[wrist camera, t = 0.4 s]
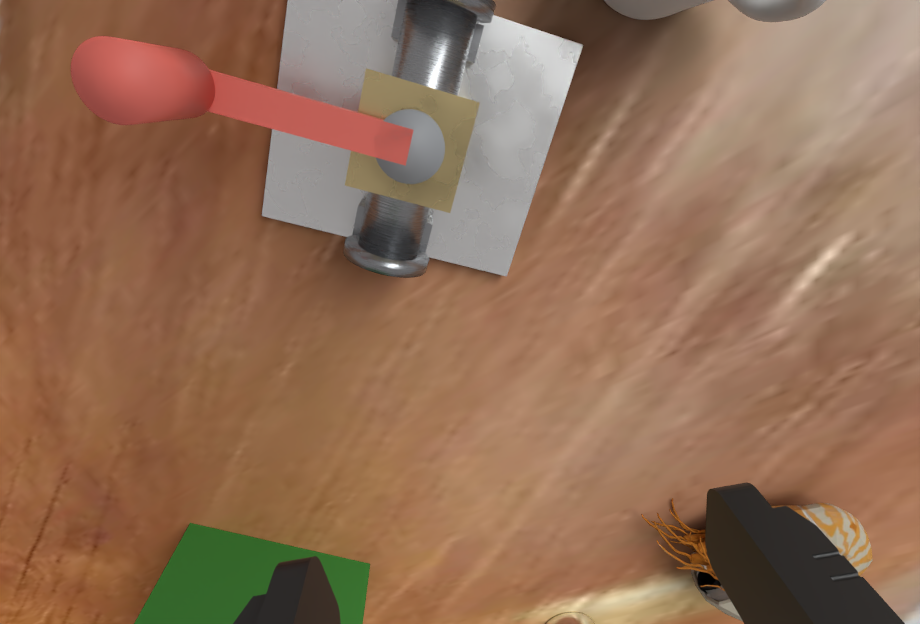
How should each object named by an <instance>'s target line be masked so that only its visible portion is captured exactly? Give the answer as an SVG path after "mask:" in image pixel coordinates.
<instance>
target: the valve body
mask: <svg viewBox="0 0 920 624" xmlns="http://www.w3.org/2000/svg"><path fill="white" fill-rule="evenodd" d="M495 6H496V4H495V2H494V1H493V0H288V2H287V11H286V19H285V27H284V35H283V44H282V52H281V60H280V69H279V77H278V85H277V89H279V90H282V91H286V92H289V93H293V94H296V95H300V96H303V97H307V98H310V99H314V100H317V101H321V102H324V103H328V104H331V105H335V106H338V107H342V108H345V109H348V110H352V111H355V112H359V113H362V114H366V115H369V116H373V117H376V118H380V119H383V120H384V119H385V118H387V117H388V116H389V115H391V114H393V113H394V112H396V111H399V110H403V109H415V110H419V111H422V112H424V113H426V114H428V115H429V116H430V117H432V118H433V119H434V120H435V122H436V123H437V124H438V126H439V127H440V129H441V131H442V134H443V137H444V142H445V154H444V159H443V162H442V164H441V166H440V168H439V169H438V171H437V172H436V173H435V174H434V175H433V176H432V177H431V178H429V179H428V180H426V181H424V182H421V183H417V184H405V183H401V182H398V181H395V180H393V179H392V178H390V177H389V176H388V175H387V174H385V172H384V171H383V170H382V169H381V167H380V166H379V164H378V162H377V160H376V157H372V156H369V155H365V154H361V153H358V152H354V151H350V150H347V149H343V148H340V147H336V146H332V145H329V144H325V143H321V142H318V141H314V140H310V139H307V138H303V137H300V136H296V135H292V134H289V133H285V132H281V131H278V130H274V129H272V135H271V143H270V152H269V160H268V168H267V176H266V185H265V193H264V201H263V210H262V216H264V217H268V218H272V219H276V220H280V221H284V222H288V223H292V224H296V225H300V226H304V227H309V228H313V229H317V230H321V231H325V232H329V233H333V234H337V235H341V236H345V237H347V238H346V240H345V245H344V250H343V254H344V256H345V257H346V258H347V259H348V260H349V261H350V262H352V263H353V264H355V265H357V266H359V267H361V268H364V269H366V270H369V271H372V272H375V273H379V274H383V275H387V276H393V277H404V278H410V277H418V276H421V275H423V274H424V273H425V272H426V269H427V265H428V261H429V257H430V258H434V259H438V260H442V261H446V262H450V263H454V264H458V265H462V266H466V267H470V268H474V269H478V270H482V271H486V272H490V273H495V274H499V275H503V276H507V274H508V271H509V268H510V265H511V262H512V259H513V256H514V253H515V249H516V246H517V243H518V240H519V237H520V234H521V231H522V228H523V225H524V222H525V219H526V216H527V213H528V210H529V207H530V204H531V201H532V198H533V195H534V192H535V189H536V186H537V183H538V180H539V177H540V174H541V171H542V168H543V165H544V162H545V159H546V156H547V153H548V150H549V147H550V144H551V141H552V138H553V135H554V132H555V129H556V126H557V123H558V120H559V117H560V114H561V111H562V108H563V104H564V101H565V98H566V95H567V92H568V89H569V86H570V83H571V80H572V77H573V74H574V71H575V68H576V65H577V62H578V59H579V56H580V53H581V50H582V47H583V45H582V44H579V43H576V42H573V41H570V40H567V39H564V38H561V37H558V36H555V35H552V34H549V33H546V32H543V31H540V30H537V29H534V28H531V27H528V26H525V25H522V24H519V23H516V22H513V21H510V20H507V19H504V18H501V17H498V16H495V15H493V14H494V10H495Z"/></svg>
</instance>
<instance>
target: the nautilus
mask: <svg viewBox="0 0 920 624" xmlns="http://www.w3.org/2000/svg"><path fill="white" fill-rule="evenodd" d="M671 501H672V508H673V511H674V513H675V515H676V516H675V515H674V514H673V513H672V512H671V510H670V509H669V510H670V513H671V514H672V515H673V517H674V518H675V519H676V520H677V521H678V522H679V524H680V526H681V527H682V528H683V529H684V530H688V531H690V533H689V534H688V533H686V532H685V531H683V530H682V529H680V528H678V527H676V526H673V525H666V524H665V523H664V522H663V520H662V519H661V518H660V517H659V514H658V513H657V515H658V518H659V519H660V521H661V522H662V524H659V523H656V522H655V521H654V522H653V521H651V522H653V523H654V525H655V526H654V525H652V524H651V523H650V522H649V521H648V520H647V519H645V518H644V517H643V515H642V514H641V515H642V517H643V519H644V520H645V521H646V522H647V523H648V524H649V525H650V526H652V527H654V528H655V529H657V530H658V532H659V534H660V535H661V536H662V538H663V539H664V540H665V542H666V543H667V544H668V545H669V546H670V547H671V548H672V550H673V551H674V552H676V553H678V554H681V555H684V556H686V557H688V558H689V560H690V562H691V564H689V563H685V562H684V561H682V560H681V559H679V558H677V557H676V556H674V555H673V554H671V553H669V552H668V551H667V550H666V549H665V548H663V547H662V546H661V545H660V544H659V542H658V540H656V541H657V543H658V545H659V546H660V547H661V548H662V549H663V550H664V551H665V552H666V553H667V554H669V555H670V556H672V557H673V558H675V559H676V560H678V561H679V562H681V563H682V564H684V565H686V566H684V567H677V568H678V569H691V572H692V576H693V579H694V582H695V585H696V587H697V588H698V590H699V591H700V592H701V594H702V595H703V597H704V598H705V600H706V601H707V602H709V603H710V604H712V605H713V606H715V607H716V608H718V609H719V610H721V611H722V612H724V613H725V614H727V615H730V616H732V617H734V618H736V619H739V620H741V621H743V620H742V619H741V617H740V615H739V614H738V612H737V610H736V609H735V607H734V605H733V604H732V602H731V600H730V599H729V597H728V595H727V594H726V592H725V590H724V588H723V587H722V585H721V583H720V582H719V580H718V578H717V577H716V575H715V573H714V571H713V569H712V566H711V564H710V561H709V558H708V555H707V551H706V545H705V534H706V529H704V530H696V529H691V528H689V527H687V526H686V525H685V524H684V523H682V522H681V521H680V519H679V517H678V515H677V513H676V511H675V508H674V505H673V498H672V500H671ZM785 506H787V507H789V508H791V509H792V510H794V511H795V512H797V513H798V514H800V515H801V516H803V517H804V518H806V519H807V520H809V521H811V522H812V523H814V524H815V525H816V526H817V527H818V528H819V529H820V530H821V531H822V532H823V533H824V534H825V536H826V537H827V538H828V539H829V540H830V541H831V542H832V543H833V544H834V546H835V547H836V548H837V549H838V550H839V553H840V555H841V556H842V555H843V556H844V557H845V558H846V559H847V560H848V561H849V562H850V563H851V564H852V566H853V567H854V568H855V569H856V570H857V571H858V574H859V576H861V574H862V573H863V572H864V571H865V570H866V569H867V567H868V566H869V564H870V563H871V562H872V550H871V545H870V542H869V538H868V535H867V533H866V531H865V530H864V528H863V527H862V525H861V524H860V522H859V520H857V519H856V518H855V517H854V516H852V515H851V514H850V513H848V512H846V511H844V510H842V509H840V508H838V507H836V506H834V505H831V504H827V503H815V504H810V505H805V506H799V505H785ZM771 507H772V508H776V507H782V506H771ZM676 517H677V518H676ZM656 524H657V525H660V526H664V527H666V528H667V529H668V531H669V532H670V533H671V534H672V535H673V536H674V537H673V536H670V535H668V534H666V533H665V532H663V531H662V530H660V529H659V528H658V527H657V526H656ZM684 526H685V527H686V528H685V527H684ZM670 527H672V528H670ZM669 528H670V529H669ZM673 528H675V529H673ZM671 529H673V530H678V531H681V532H683V533H684V534H685V536H683V537H681V536H677V535H676V534H675V533H674V532H673V531H672V530H671ZM691 532H693V533H695V534H691ZM662 534H664V535H665V536H667V537H668V538H672V539H677V540H678V541H679V542H674V541H670V540H669V541H670V542H674V543H681V544H683V545H686V546H688V547H690V546H689V545H691V546H693V547H694V548H695V549H696V550H694V549H693V548H691V547H690V548H691V549H692V550H693V551H694V552H693V553H691V554H690V555H689V554H687V553H685V552H680V551H678V550H676V549H675V548H674V547H673V546H672V545H671V544H670V543H669V542H668V540H667V539H666V538H665V537H664V536H663V535H662ZM681 539H682V540H681Z"/></svg>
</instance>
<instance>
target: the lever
mask: <svg viewBox="0 0 920 624" xmlns="http://www.w3.org/2000/svg"><path fill="white" fill-rule="evenodd" d="M71 76H72V81H73V84H74V87H75V89H76V92H77V94H78V95H79V97H80V99H81V100H82V101H83V103H84V104H85V105H86V106H87V107H88V108H89V109H90V110H91V111H92V112H93V113H95V114H96V115H97V116H99V117H100V118H102V119H104V120H106V121H108V122H111V123H114V124H119V125H133V124H142V123H151V122H160V121H169V120H178V119H187V118H195V117H198V116H201V115H203V114H204V113H205V112H207V111H209V112H212V113H216V114H219V115H223V116H227V117H230V118H234V119H238V120H241V121H245V122H249V123H252V124H256V125H259V126H263V127H267V128H270V129H274V130H278V131H281V132H285V133H289V134H292V135H296V136H300V137H303V138H307V139H310V140H314V141H318V142H321V143H325V144H329V145H332V146H336V147H340V148H343V149H347V150H350V151H354V152H358V153H361V154H365V155H369V156H372V157H376V160H377V162H378V164H379V166H380V167H381V169H382V170H383V171H384V172H385V174H387V175H388V176H389V177H390V178H392V179H393V180H395V181H398V182H401V183H405V184H417V183H421V182H424V181H426V180H428V179H429V178H431V177H432V176H433V175H434V174H435V173H436V172H437V171H438V169H439V168H440V166H441V164H442V162H443V159H444V154H445V142H444V137H443V134H442V131H441V129H440V127H439V126H438V124H437V123H436V122H435V120H434V119H433V118H432V117H430V116H429V115H428V114H426V113H424V112H422V111H419V110H415V109H403V110H399V111H396V112H394V113H393V114H391V115H389V116H388V117H387V118H385V119H384V120H383V119H380V118H376V117H373V116H369V115H366V114H362V113H359V112H355V111H352V110H348V109H345V108H342V107H338V106H335V105H331V104H328V103H324V102H321V101H317V100H314V99H310V98H307V97H303V96H300V95H296V94H293V93H289V92H286V91H282V90H279V89H275V88H272V87H269V86H265V85H262V84H258V83H255V82H251V81H248V80H244V79H241V78H237V77H234V76H230V75H227V74H223V73H220V72H216V71H213V70H209V69H208V67H207V66H206V65H205V63H204V62H203V61H202V60H201V59H200V58H198V57H197V56H196V55H194V54H193V53H191V52H189V51H186V50H183V49H179V48H173V47H167V46H161V45H155V44H149V43H143V42H138V41H132V40H126V39H120V38H114V37H108V36H97V37H93V38H90V39H88V40H86V41H84V42H83V43H82V44H81V45H79V47H78V48H77V49H76V51H75V53H74V55H73V58H72V62H71Z"/></svg>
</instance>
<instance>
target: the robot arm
mask: <svg viewBox="0 0 920 624" xmlns="http://www.w3.org/2000/svg"><path fill="white" fill-rule="evenodd" d="M705 545H706V551H707V555H708V558H709V561H710V564H711V566H712V569H713V571H714V573H715V575H716V577H717V578H718V580H719V582H720V583H721V585H722V587H723V588H724V590H725V592H726V594H727V595H728V597H729V599H730V600H731V602H732V604H733V605H734V607H735V609H736V610H737V612H738V614H739V615H740V617H741V619H742V620H743V622H744V624H905V623H904V622H903V621H902V620H901V619H900V618H899V617H898V616H897V614H896V613H895V612H894V611H893V610H892V609H891V608H890V607H889V606H888V604H887V603H886V602H885V601H884V600H883V599H882V598H881V597H880V596H879V594H878V593H877V592H876V591H875V590H874V589H873V588H872V587H871V586H870V584H869V583H868V582H867V581H866V580H865V579H864V578H863V577H860V576H859V574H858V571H857V570H856V569H855V568H854V567H853V566H852V564H851V563H850V562H849V561H848V560H847V559H846V558H845V557H844V556H843V555H842V556H841V555H840V553H839V550H838V549H837V548H836V547H835V546H834V544H833V543H832V542H831V541H830V540H829V539H828V538H827V537H826V536H825V534H824V533H823V532H822V531H821V530H820V529H819V528H818V527H817V526H816V525H815V524H814V523H812V522H811V521H809V520H807V519H806V518H804V517H803V516H801V515H800V514H798V513H797V512H795V511H794V510H792V509H791V508H789V507H787V506H782V507H776V508H772V507H771V505H770V504H769V503H768V502H767V501H766V499H765V498H764V497H763V496H762V495H761V493H760V492H759V491H758V490H757V489H756V488H755V487H754V486H753V485H752V484H750V483H742V484H736V485H730V486H724V487H719V488H713V489H710V490H709V491H708V493H707V508H706V534H705ZM233 624H341V621H340V611H339V606H338V603H337V600H336V598H335V595H334V593H333V591H332V588H331V586H330V583H329V581H328V578H327V576H326V573H325V571H324V568H323V566H322V564H321V561H320V559H319V558H318V557H317V556H313V557H308V558H302V559H296V560H290V561H285V562H280V563H278V564H277V566H276V567H275V569H274V572H273V575H272V578H271V581H270V584H269V587H268V590H267V593H266V594H263V595H257V596H253V597H252V598H251V599H250V601H249V602H248V604H247V605H246V606H245V608H244V609H243V610H242V612H241V613H240V615H239V616H238V617H237V619H236V620H235V621H234V623H233Z"/></svg>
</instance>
